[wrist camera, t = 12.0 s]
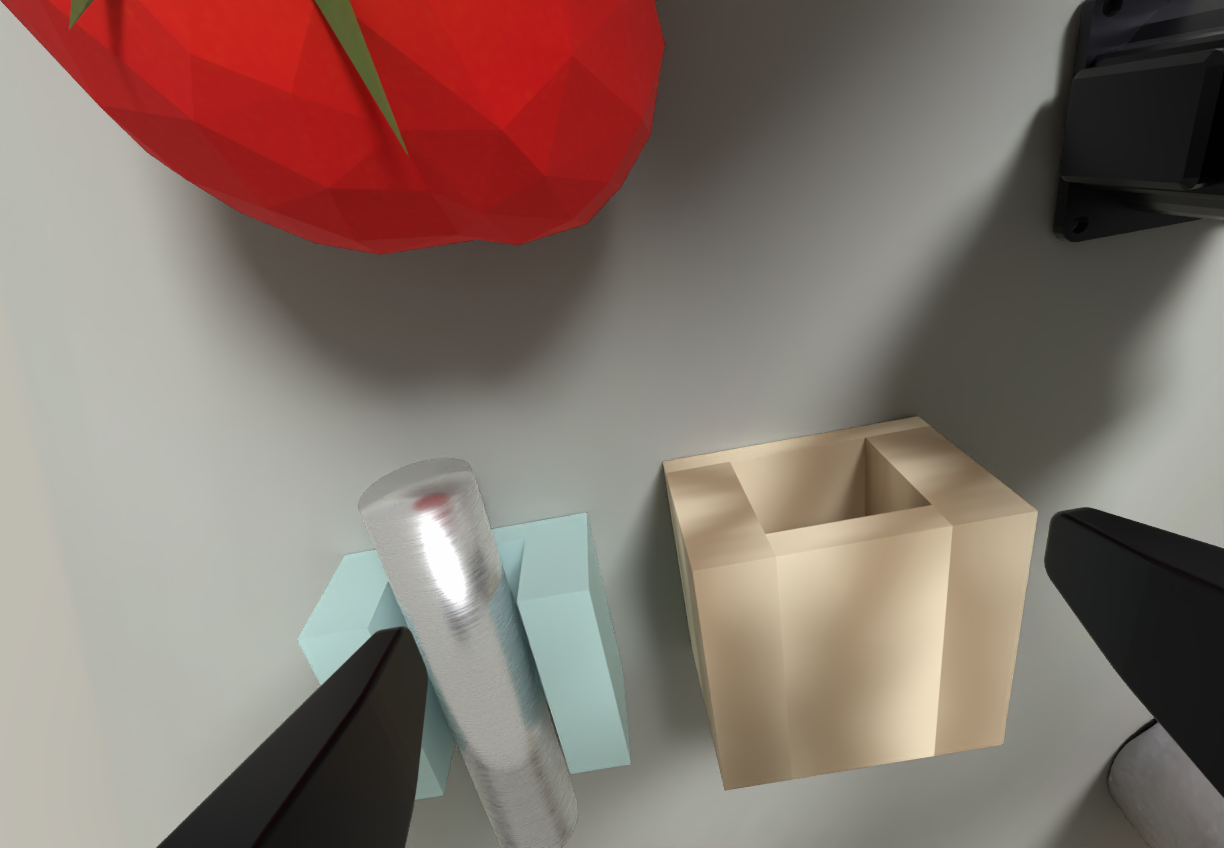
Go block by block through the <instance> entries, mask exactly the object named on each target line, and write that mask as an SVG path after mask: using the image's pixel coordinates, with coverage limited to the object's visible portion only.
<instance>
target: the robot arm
mask: <svg viewBox="0 0 1224 848" xmlns="http://www.w3.org/2000/svg"><path fill="white" fill-rule="evenodd" d="M1104 2H1105V0H1086V1H1085V3H1084V5H1083V9H1082V12H1081V20H1080V28H1079V35H1078V43H1077V50H1076V58H1075V65H1074V73H1073V80H1072V83H1071V89H1070V97H1069V105H1068V112H1067V120H1066V127H1065V135H1064V143H1063V150H1062V158H1061V165H1060V179H1059V186H1058V194H1057V201H1056V209H1055V217H1054V224H1053V231H1054V234H1055V236H1056V237H1057V238H1059V239H1060V240H1064V241H1069V242H1080V241H1085V240H1090V239H1096V238H1101V237H1107V236H1112V235H1117V234H1123V233H1128V232H1134V231H1139V230H1144V229H1150V228H1155V227H1161V226H1166V225H1171V224H1177V223H1182V222H1188V221H1193V220H1199V219H1204V218H1205V219H1213V220H1222V221H1224V0H1110V9H1109V12H1108V13H1107V15H1106V16H1105V14H1104V13H1103V5H1104ZM1077 217H1078V224H1077V226H1076V227H1075V228H1074V229H1073V230H1072V231H1071V225H1072V222H1073V221H1074V220H1075V219H1076V218H1077ZM1044 563H1045V569H1046V572H1047V574H1048V576H1049V578H1050V580H1051V581H1052V582H1053V584H1054V585H1055V587H1056V588H1057V589H1058V591H1059V592H1060V594H1061V595H1062V597H1063V598H1064V599H1065V601H1066V602H1067V604H1068V605H1069V606H1070V608H1071V609H1072V611H1073V612H1074V613H1075V615H1076V616H1077V618H1078V619H1079V621H1080V622H1081V623H1082V625H1083V626H1084V628H1085V629H1086V630H1087V632H1088V633H1089V635H1090V636H1091V637H1092V639H1093V640H1094V642H1095V643H1096V644H1097V646H1098V647H1099V649H1100V650H1101V652H1102V653H1103V654H1104V656H1105V657H1106V659H1107V660H1108V661H1109V663H1110V664H1111V665H1112V667H1113V668H1114V669H1115V671H1116V672H1117V673H1118V675H1119V676H1120V677H1121V679H1122V680H1123V681H1124V682H1125V683H1126V685H1127V686H1128V687H1129V688H1130V690H1131V691H1132V692H1133V693H1134V694H1135V696H1136V697H1137V698H1138V699H1139V700H1140V701H1141V703H1142V704H1143V705H1144V706H1145V707H1146V708H1147V710H1148V711H1149V712H1150V713H1151V714H1152V715H1153V717H1154V718H1155V719H1156V720H1157V721H1158V722H1159V724H1160V725H1161V726H1162V727H1163V728H1164V729H1165V731H1166V732H1167V733H1168V734H1169V735H1170V736H1171V738H1172V739H1173V740H1174V741H1175V742H1176V743H1177V745H1178V746H1179V747H1180V748H1181V749H1182V750H1183V752H1184V753H1185V754H1186V755H1187V756H1188V757H1189V759H1190V760H1191V761H1192V762H1193V763H1194V764H1195V766H1196V767H1197V768H1198V769H1199V770H1200V771H1201V773H1202V774H1203V775H1204V776H1205V777H1206V778H1207V780H1208V781H1209V782H1210V783H1211V784H1212V785H1213V787H1214V788H1215V789H1216V790H1217V791H1218V792H1219V794H1220V795H1221V796H1222V797H1223V798H1224V548H1221V547H1218V546H1214V545H1211V544H1208V543H1204V542H1201V541H1198V540H1195V539H1191V538H1188V537H1185V536H1182V535H1178V534H1175V533H1172V532H1169V531H1165V530H1162V529H1159V528H1156V527H1152V526H1149V525H1146V524H1143V523H1139V522H1136V521H1133V520H1130V519H1126V518H1123V517H1120V516H1117V515H1113V514H1110V513H1107V512H1104V511H1100V510H1097V509H1094V508H1088V507H1082V508H1076V509H1070V510H1065V511H1060V512H1057V513H1056V514H1054V516H1053V517H1052V518H1051V521H1050V526H1049V532H1048V538H1047V545H1046V551H1045V557H1044ZM427 690H428V673H427V668H426V665H425V663H424V660H423V658H422V656H421V653H420V651H419V648H418V646H417V644H416V641H415V639H414V636H413V634H412V632H411V631H410V629H409V628H408V627H405V626H398V627H392V628H387V629H381V630H378V631H377V632H375V633H374V634H373V635H372V636H371V637H370V638H369V639H368V640H367V641H366V642H365V643H364V644H363V645H362V646H361V647H360V648H359V649H358V650H357V651H356V652H355V653H354V654H352V655H351V656H350V657H349V658H348V659H347V660H346V661H345V662H344V663H343V664H342V665H341V666H340V667H339V668H338V669H337V670H336V671H335V672H334V673H333V674H332V675H331V676H330V677H329V678H328V679H327V680H326V681H325V682H324V683H323V684H322V685H321V686H320V687H319V688H318V689H317V690H316V691H315V692H314V693H313V694H312V695H311V696H310V697H309V698H308V699H307V700H306V701H305V702H304V703H303V704H302V705H301V706H300V707H299V708H298V709H297V710H296V711H295V712H294V713H293V714H292V715H291V716H290V717H289V718H288V719H286V720H285V721H284V722H283V723H282V724H281V725H280V726H279V727H278V728H277V729H276V730H275V731H274V732H273V733H272V734H271V735H270V736H269V737H268V738H267V739H266V740H265V741H264V742H263V743H262V744H261V745H260V746H259V747H258V748H257V749H256V750H255V751H254V752H253V753H252V754H251V755H250V756H249V757H248V758H247V759H246V760H245V761H244V762H243V763H242V764H241V765H240V766H239V767H238V768H237V769H236V770H235V771H234V772H233V773H232V774H231V775H230V776H229V777H228V778H227V779H226V780H225V781H224V782H223V783H222V784H220V785H219V786H218V787H217V788H216V789H215V790H214V791H213V792H212V793H211V794H210V795H209V796H208V797H207V798H206V799H205V800H204V801H203V802H202V803H201V804H200V805H199V806H198V807H197V808H196V809H195V810H194V811H193V812H192V813H191V814H190V815H189V816H188V817H187V818H186V819H185V820H184V821H183V822H182V823H181V824H180V825H179V826H178V827H177V828H176V829H175V830H174V831H173V832H172V833H171V834H170V835H169V836H168V837H167V838H166V839H165V840H164V841H163V842H162V843H161V844H159V845H158V846H157V847H156V848H405V845H406V841H407V836H408V831H409V827H410V822H411V817H412V812H413V807H414V802H415V796H416V789H417V782H418V774H419V764H420V755H421V746H422V736H423V727H424V718H425V708H426V699H427Z"/></svg>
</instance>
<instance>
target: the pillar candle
mask: <svg viewBox="0 0 1224 848" xmlns="http://www.w3.org/2000/svg"><path fill="white" fill-rule="evenodd" d="M1108 786H1109V789H1110V793H1111V795H1112V797H1113V799H1114V800H1115V801H1116V803H1117V804H1118V806H1119V808H1120V809H1121V810H1122V811H1123V813H1124V815H1125V817H1126V818H1127V820H1128V821H1129V822H1130V823H1131V825H1132V826H1133V827H1134V828H1135V829H1136V830H1137V832H1138V833H1139V835H1140V836H1141V837H1142V838H1143V840H1144V841H1145V842H1146V843H1147V845H1148V846H1149V847H1150V848H1224V798H1223V797H1222V796H1221V795H1220V794H1219V792H1218V791H1217V790H1216V789H1215V788H1214V787H1213V785H1212V784H1211V783H1210V782H1209V781H1208V780H1207V778H1206V777H1205V776H1204V775H1203V774H1202V773H1201V771H1200V770H1199V769H1198V768H1197V767H1196V766H1195V764H1194V763H1193V762H1192V761H1191V760H1190V759H1189V757H1188V756H1187V755H1186V754H1185V753H1184V752H1183V750H1182V749H1181V748H1180V747H1179V746H1178V745H1177V743H1176V742H1175V741H1174V740H1173V739H1172V738H1171V736H1170V735H1169V734H1168V733H1167V732H1166V731H1165V729H1164V728H1163V727H1162V726H1161V725H1160V724H1159V722H1157V723H1156V724H1155V725H1154V726H1152V727H1151V728H1149V729H1148V730H1146V731H1145V732H1143V733H1142V734H1140V735H1139V736H1137V737H1136V738H1134V739H1133V740H1131V741H1130V742H1129V743H1127V744H1126V745H1125V746H1124V748H1122V750H1121V751H1120V752H1119V753H1118V755H1117V757H1116V758H1115V759H1114V762H1113V765H1112V766H1111V769H1110V775H1109V779H1108Z"/></svg>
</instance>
